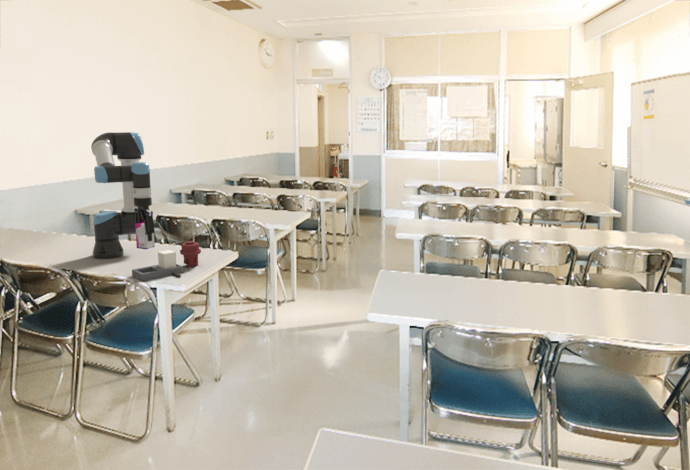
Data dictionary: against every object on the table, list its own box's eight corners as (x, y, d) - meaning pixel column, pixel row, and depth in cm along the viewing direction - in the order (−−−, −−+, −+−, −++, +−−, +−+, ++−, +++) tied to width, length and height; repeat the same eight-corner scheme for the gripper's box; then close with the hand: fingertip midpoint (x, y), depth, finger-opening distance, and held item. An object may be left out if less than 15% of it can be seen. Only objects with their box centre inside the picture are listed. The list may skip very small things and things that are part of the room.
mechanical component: (205, 263, 269) (195, 269, 260) (186, 262, 271) (177, 267, 262) (203, 240, 267) (194, 244, 257) (185, 239, 269) (175, 243, 259)
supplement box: (155, 247, 245) (153, 222, 243) (145, 249, 240) (143, 224, 238) (145, 245, 248) (144, 221, 245) (136, 248, 242) (134, 223, 240)
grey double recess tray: (132, 275, 247) (130, 255, 245) (172, 267, 261) (171, 248, 259) (149, 284, 235) (147, 262, 233) (190, 275, 249) (189, 254, 247)
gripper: (124, 195, 243) (128, 243, 248) (144, 200, 229) (147, 251, 234) (140, 194, 248) (144, 241, 253) (160, 198, 235) (163, 248, 239)
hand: (145, 246), depth 244 cm, fingers closed on supplement box, 7 cm apart
